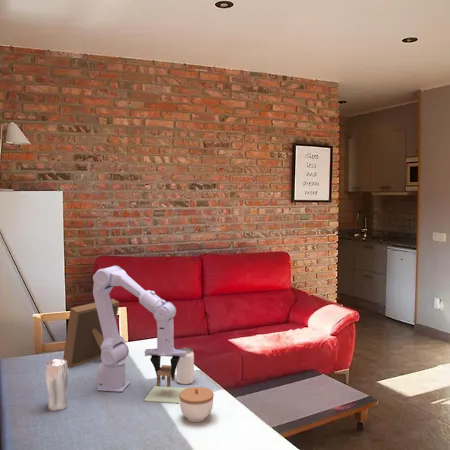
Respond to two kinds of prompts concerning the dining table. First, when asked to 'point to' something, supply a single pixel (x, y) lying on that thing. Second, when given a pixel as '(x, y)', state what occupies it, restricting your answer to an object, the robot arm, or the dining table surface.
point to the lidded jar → (196, 403)
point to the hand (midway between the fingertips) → (165, 376)
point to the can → (186, 367)
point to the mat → (164, 395)
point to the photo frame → (84, 334)
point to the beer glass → (57, 383)
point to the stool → (163, 372)
